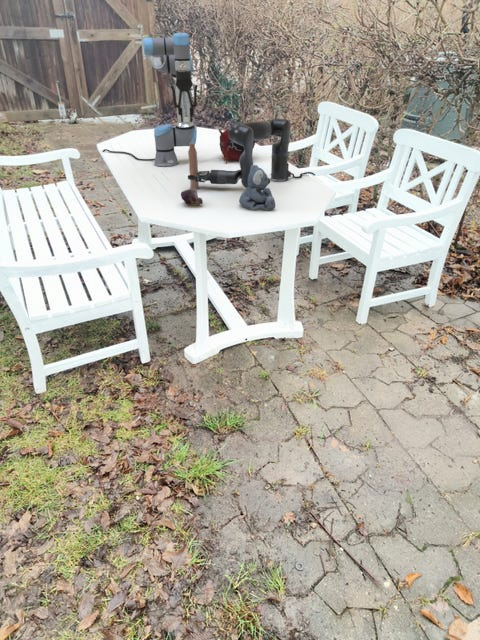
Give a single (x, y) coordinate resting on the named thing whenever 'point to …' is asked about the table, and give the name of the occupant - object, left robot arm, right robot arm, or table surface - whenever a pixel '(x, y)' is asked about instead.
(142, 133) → the table surface
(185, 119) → the cap
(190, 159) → the bottle
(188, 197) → the rock
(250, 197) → the koala plush
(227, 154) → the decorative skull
